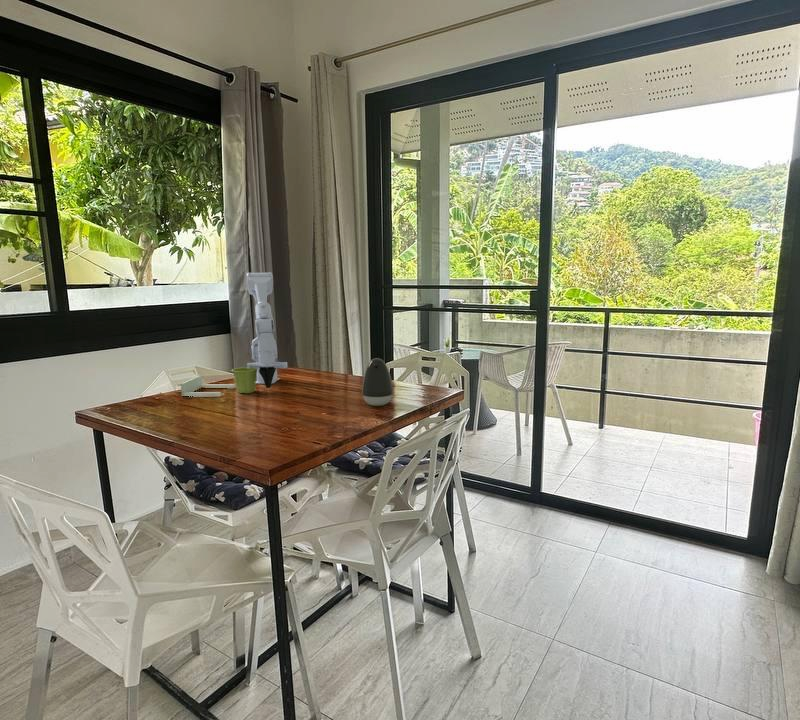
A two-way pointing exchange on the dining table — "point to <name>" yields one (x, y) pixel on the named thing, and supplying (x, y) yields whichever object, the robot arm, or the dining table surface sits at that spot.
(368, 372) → the dark grey egg shape
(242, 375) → the plant pot
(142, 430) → the dining table surface
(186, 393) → the display bay
